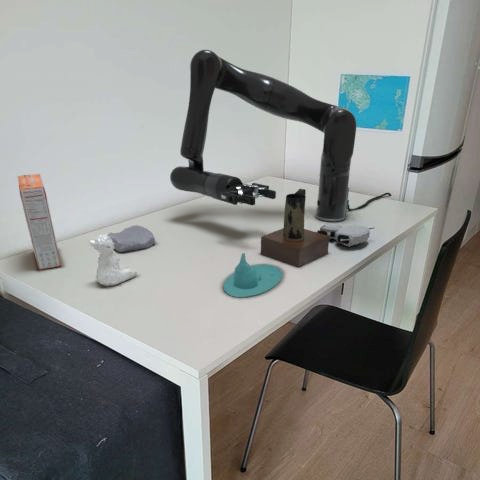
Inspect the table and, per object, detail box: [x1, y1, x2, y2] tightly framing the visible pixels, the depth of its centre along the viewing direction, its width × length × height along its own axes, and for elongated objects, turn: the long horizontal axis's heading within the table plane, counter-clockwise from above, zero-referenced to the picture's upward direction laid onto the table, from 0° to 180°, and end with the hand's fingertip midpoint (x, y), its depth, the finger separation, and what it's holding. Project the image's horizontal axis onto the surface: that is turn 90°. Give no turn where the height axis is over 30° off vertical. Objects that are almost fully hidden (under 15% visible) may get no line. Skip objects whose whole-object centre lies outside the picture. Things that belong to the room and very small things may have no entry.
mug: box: [283, 188, 307, 241], centre depth 126 cm, size 8×6×12 cm
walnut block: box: [260, 227, 330, 268], centre depth 130 cm, size 13×13×5 cm
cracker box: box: [17, 173, 62, 271], centre depth 123 cm, size 14×6×21 cm, turn 23°
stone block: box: [107, 224, 156, 253], centre depth 136 cm, size 12×5×10 cm
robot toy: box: [316, 222, 376, 248], centre depth 139 cm, size 12×4×15 cm
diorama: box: [223, 252, 283, 299], centre depth 115 cm, size 12×20×9 cm, turn 151°
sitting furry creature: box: [88, 233, 138, 287], centre depth 114 cm, size 10×9×12 cm
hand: (265, 198), depth 132 cm, fingers open, 8 cm apart
